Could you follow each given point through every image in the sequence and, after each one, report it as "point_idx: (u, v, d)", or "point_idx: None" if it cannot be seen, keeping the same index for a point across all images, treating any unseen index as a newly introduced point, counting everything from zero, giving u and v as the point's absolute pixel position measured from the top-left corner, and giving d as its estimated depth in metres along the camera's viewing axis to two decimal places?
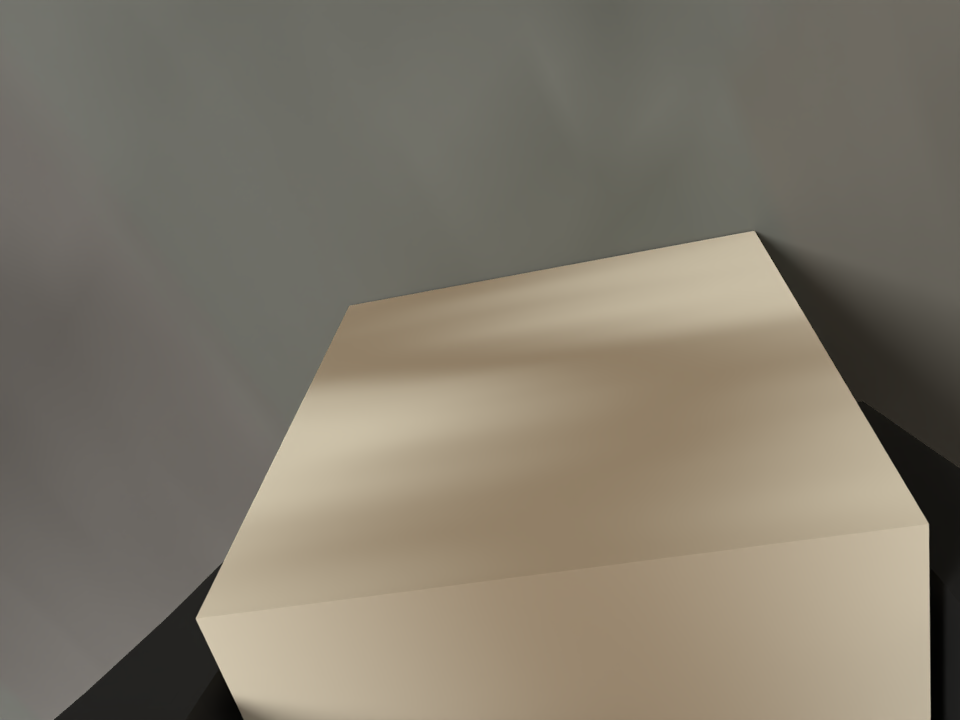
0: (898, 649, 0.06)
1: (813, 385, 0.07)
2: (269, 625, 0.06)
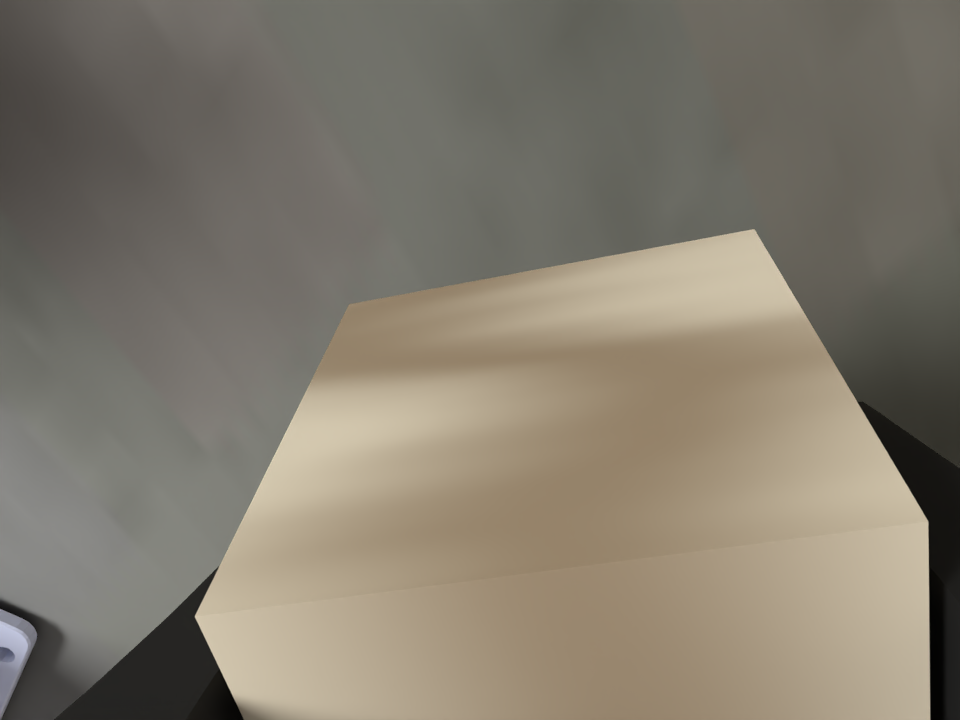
0: (897, 646, 0.06)
1: (813, 383, 0.07)
2: (268, 623, 0.06)
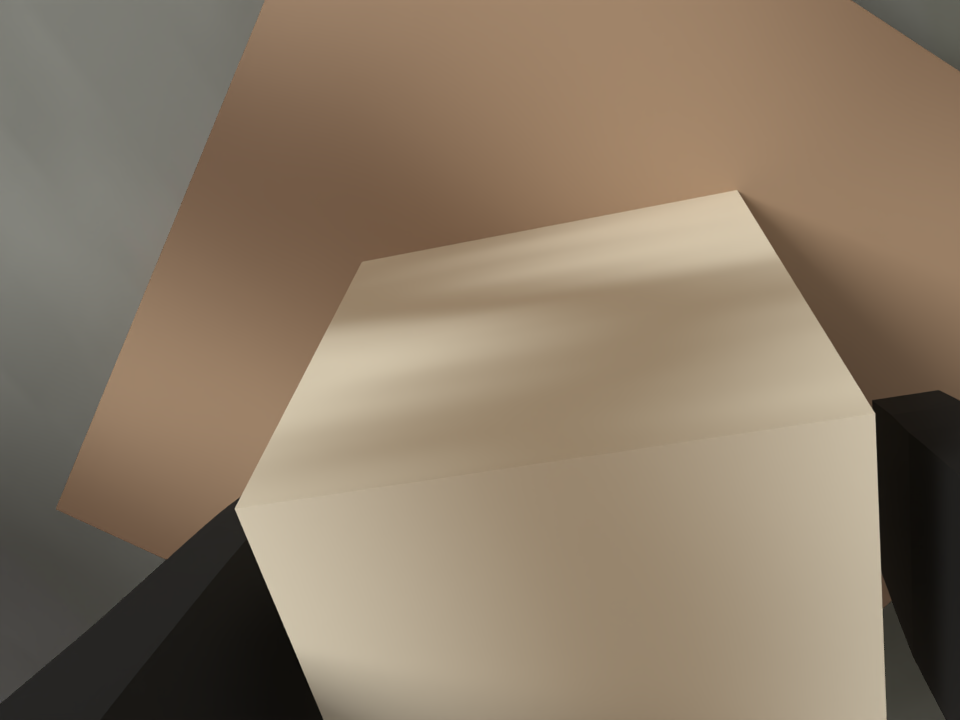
0: (851, 530, 0.06)
1: (783, 312, 0.07)
2: (299, 514, 0.07)
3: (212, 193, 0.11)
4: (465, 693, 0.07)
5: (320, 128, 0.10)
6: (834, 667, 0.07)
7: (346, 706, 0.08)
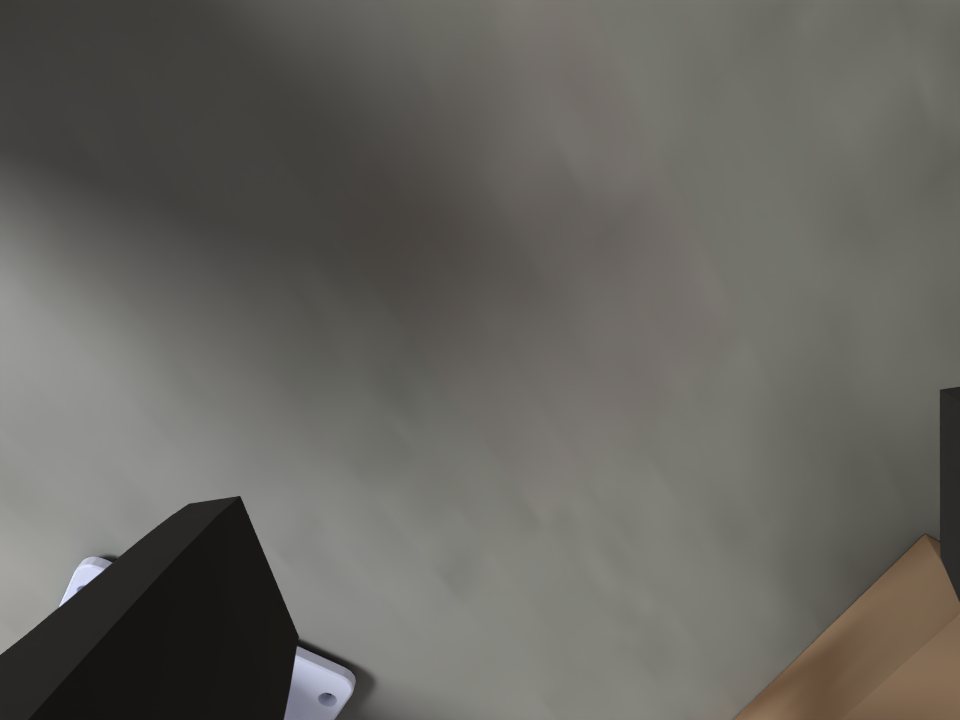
0: None
1: None
2: None
3: None
4: None
5: None
6: None
7: None
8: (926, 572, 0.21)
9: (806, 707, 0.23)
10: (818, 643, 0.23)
